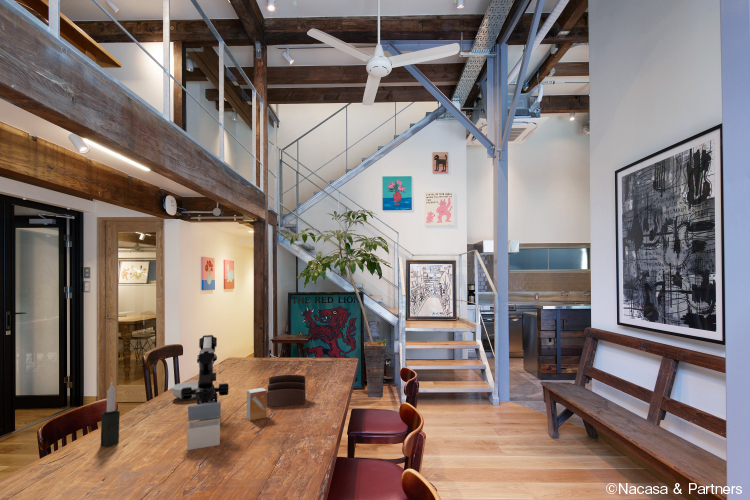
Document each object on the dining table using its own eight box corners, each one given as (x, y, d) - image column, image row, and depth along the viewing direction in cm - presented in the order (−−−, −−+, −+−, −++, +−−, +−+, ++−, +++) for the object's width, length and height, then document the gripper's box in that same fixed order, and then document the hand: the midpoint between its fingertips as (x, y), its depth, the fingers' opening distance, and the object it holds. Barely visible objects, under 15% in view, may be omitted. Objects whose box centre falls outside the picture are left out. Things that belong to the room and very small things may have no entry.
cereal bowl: (195, 402, 214) (195, 389, 215) (165, 402, 214) (165, 389, 215) (209, 393, 231) (209, 380, 232) (181, 393, 231) (181, 381, 232)
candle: (120, 442, 162) (121, 381, 164) (108, 447, 158) (110, 384, 159) (111, 441, 164) (113, 380, 166) (99, 446, 159) (101, 383, 161)
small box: (249, 421, 185) (250, 393, 186) (246, 417, 190) (246, 389, 191) (266, 417, 189) (267, 390, 190) (262, 413, 195) (262, 387, 196)
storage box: (188, 442, 162) (188, 422, 162) (219, 437, 166) (219, 418, 167) (187, 450, 154) (187, 429, 155) (219, 444, 159) (219, 424, 159)
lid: (188, 421, 163) (188, 419, 163) (220, 416, 167) (220, 415, 168) (187, 407, 159) (188, 405, 159) (220, 403, 163) (220, 401, 164)
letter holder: (268, 401, 215) (269, 375, 216) (305, 399, 217) (305, 373, 218) (266, 407, 205) (266, 379, 206) (304, 405, 207) (304, 378, 208)
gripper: (181, 368, 166) (178, 403, 155) (228, 364, 173) (228, 397, 162) (183, 382, 173) (180, 416, 162) (228, 378, 180) (228, 410, 169)
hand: (204, 410), depth 164 cm, fingers closed, pressing on lid
